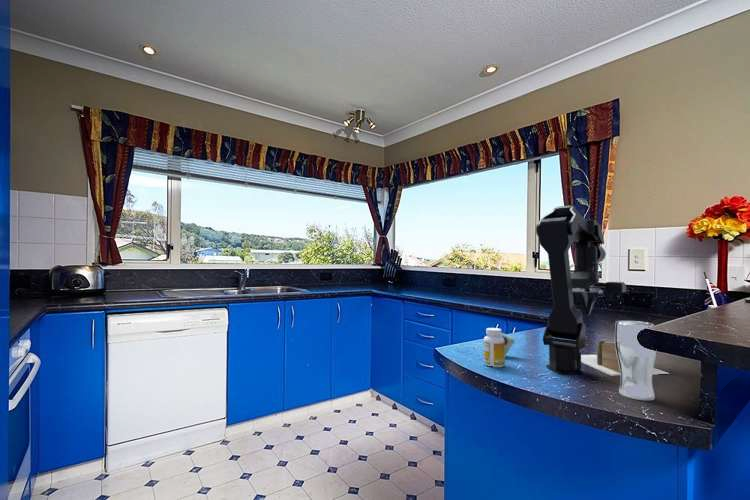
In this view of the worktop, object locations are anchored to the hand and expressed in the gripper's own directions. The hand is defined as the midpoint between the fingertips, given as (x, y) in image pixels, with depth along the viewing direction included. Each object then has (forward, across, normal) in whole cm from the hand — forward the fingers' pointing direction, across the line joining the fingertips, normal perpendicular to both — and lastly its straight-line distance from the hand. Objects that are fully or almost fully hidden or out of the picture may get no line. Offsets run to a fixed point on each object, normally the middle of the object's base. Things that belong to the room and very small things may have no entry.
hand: (587, 314), depth 106 cm
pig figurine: (+12, -18, -19) cm, 29 cm away
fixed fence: (+12, +9, -13) cm, 20 cm away
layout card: (+12, +8, -6) cm, 16 cm away
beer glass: (+12, +16, -29) cm, 35 cm away
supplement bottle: (+12, -15, -29) cm, 35 cm away
